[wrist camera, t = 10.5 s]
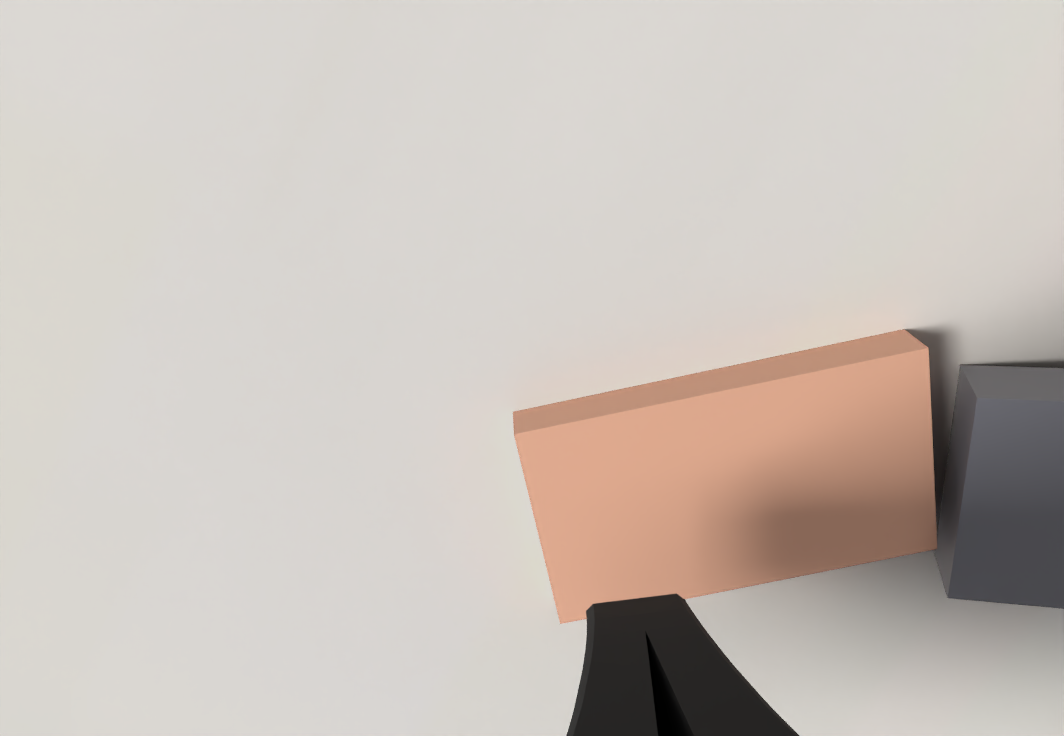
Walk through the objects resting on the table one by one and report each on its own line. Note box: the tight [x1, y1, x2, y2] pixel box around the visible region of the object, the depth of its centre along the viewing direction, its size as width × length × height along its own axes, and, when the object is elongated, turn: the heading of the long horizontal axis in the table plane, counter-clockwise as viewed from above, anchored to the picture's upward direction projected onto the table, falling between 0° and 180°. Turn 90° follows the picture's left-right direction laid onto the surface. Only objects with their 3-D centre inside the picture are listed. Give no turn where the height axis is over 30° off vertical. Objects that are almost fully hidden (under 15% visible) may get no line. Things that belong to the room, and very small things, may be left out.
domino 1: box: [513, 329, 937, 624], centre depth 16 cm, size 4×1×7 cm
